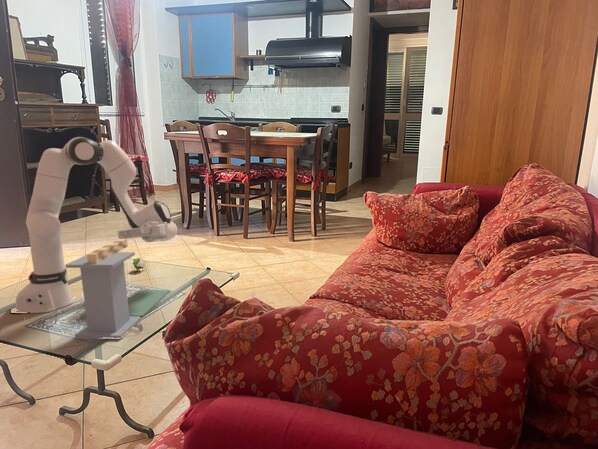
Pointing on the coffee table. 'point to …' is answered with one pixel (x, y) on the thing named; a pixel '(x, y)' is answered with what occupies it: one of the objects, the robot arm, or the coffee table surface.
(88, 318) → the pedestal
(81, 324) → the coffee table surface
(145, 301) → the mat
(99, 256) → the checkered wooden bar
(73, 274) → the coffee table surface
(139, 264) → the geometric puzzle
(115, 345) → the coffee table surface
